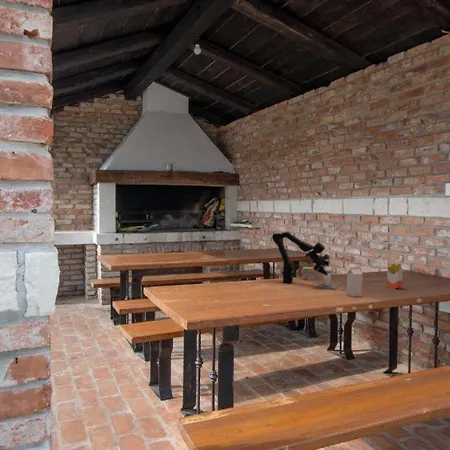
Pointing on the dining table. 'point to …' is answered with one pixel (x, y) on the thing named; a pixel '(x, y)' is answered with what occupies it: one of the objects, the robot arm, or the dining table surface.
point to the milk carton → (354, 282)
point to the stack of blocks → (311, 273)
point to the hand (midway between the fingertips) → (329, 274)
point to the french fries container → (394, 276)
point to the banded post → (327, 278)
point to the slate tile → (327, 287)
